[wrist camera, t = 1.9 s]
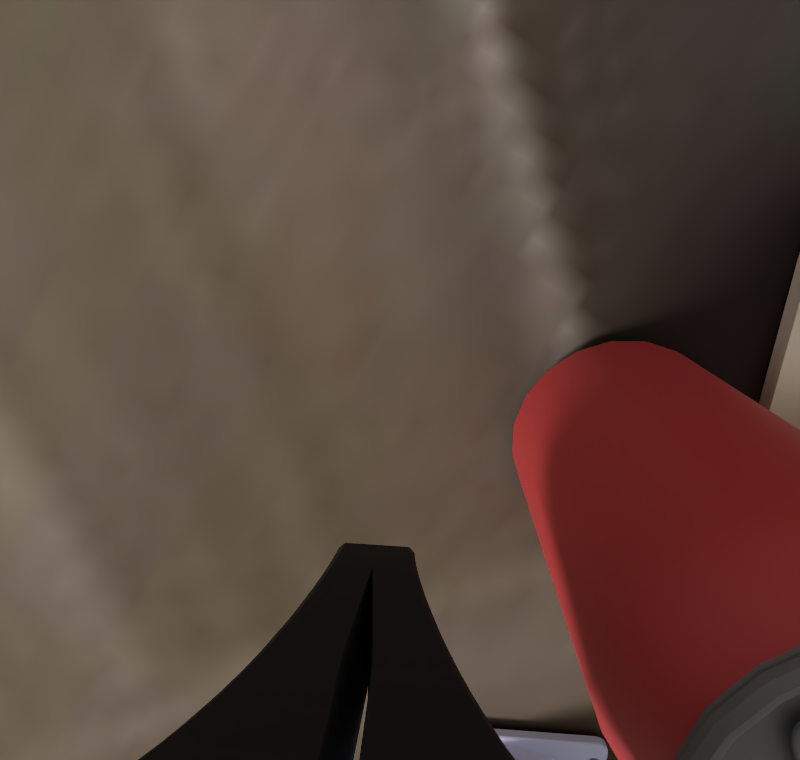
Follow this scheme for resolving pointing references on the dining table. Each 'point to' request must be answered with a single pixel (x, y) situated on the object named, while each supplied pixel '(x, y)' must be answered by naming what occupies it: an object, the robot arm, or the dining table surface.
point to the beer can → (670, 550)
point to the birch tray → (786, 361)
